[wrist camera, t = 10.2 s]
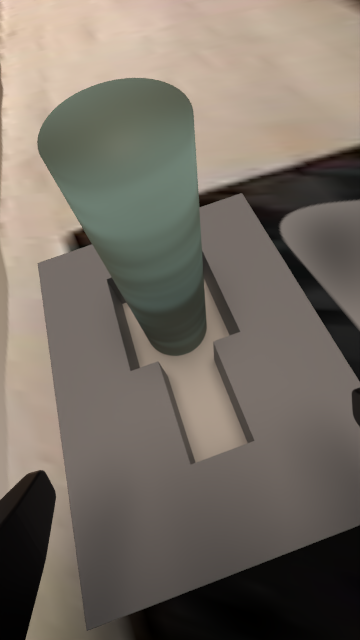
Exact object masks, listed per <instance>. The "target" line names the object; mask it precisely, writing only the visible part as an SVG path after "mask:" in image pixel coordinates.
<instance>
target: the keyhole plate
mask: <svg viewBox="0 0 360 640" xmlns="http://www.w3.org/2000/svg"><path fill="white" fill-rule="evenodd" d="M199 211H200V227H201V243H202V259H203V274H204V290H205V306H206V322H207V329H206V334H205V337H204V339H203V341H202V342H201V344H200V345H199V346H198V347H197V348H196V349H194V350H193V351H191V352H189V353H187V354H184V355H180V356H170V355H166V354H163V353H161V352H159V351H158V350H156V349H155V348H154V347H153V346H152V345H151V343H150V342H149V340H148V338H147V337H146V335H145V333H144V331H143V330H142V328H141V326H140V325H139V323H138V321H137V320H136V318H135V316H134V314H133V313H132V311H131V309H130V308H129V306H128V304H127V303H126V301H125V299H124V297H123V296H122V294H121V292H120V291H119V289H118V287H117V285H116V284H115V282H114V280H113V279H112V277H111V275H110V274H109V272H108V270H107V268H106V267H105V265H104V263H103V262H102V260H101V258H100V257H99V255H98V253H97V251H96V250H95V248H94V246H93V245H89V246H86V247H83V248H81V249H78V250H75V251H72V252H69V253H66V254H63V255H60V256H57V257H54V258H51V259H48V260H46V261H43V262H40V263H38V269H39V277H40V284H41V292H42V299H43V307H44V314H45V322H46V329H47V337H48V344H49V352H50V359H51V367H52V374H53V382H54V389H55V397H56V404H57V412H58V419H59V427H60V434H61V442H62V449H63V457H64V464H65V472H66V479H67V487H68V494H69V502H70V509H71V517H72V524H73V532H74V539H75V547H76V554H77V562H78V569H79V577H80V584H81V592H82V599H83V607H84V614H85V622H86V629H87V631H88V630H90V629H93V628H96V627H98V626H101V625H103V624H106V623H108V622H111V621H114V620H116V619H119V618H121V617H124V616H127V615H129V614H132V613H134V612H137V611H139V610H142V609H145V608H147V607H150V606H152V605H155V604H157V603H160V602H163V601H165V600H168V599H170V598H173V597H176V596H178V595H181V594H183V593H186V592H188V591H191V590H194V589H196V588H199V587H201V586H204V585H206V584H209V583H212V582H214V581H217V580H219V579H222V578H225V577H227V576H230V575H232V574H235V573H237V572H240V571H243V570H245V569H248V568H250V567H253V566H256V565H258V564H261V563H263V562H266V561H268V560H271V559H274V558H276V557H279V556H281V555H284V554H286V553H289V552H292V551H294V550H297V549H299V548H302V547H305V546H307V545H310V544H312V543H315V542H317V541H320V540H323V539H325V538H328V537H330V536H333V535H335V534H338V533H341V532H343V531H346V530H348V529H351V528H354V527H356V526H359V525H360V427H359V425H358V424H357V423H356V421H355V419H354V417H353V412H352V391H353V390H354V389H356V388H360V382H359V380H358V379H357V377H356V375H355V374H354V372H353V371H352V369H351V367H350V366H349V364H348V363H347V361H346V359H345V358H344V356H343V355H342V353H341V351H340V350H339V348H338V347H337V345H336V343H335V342H334V340H333V339H332V337H331V335H330V334H329V332H328V331H327V329H326V327H325V326H324V324H323V323H322V321H321V319H320V318H319V316H318V315H317V313H316V311H315V310H314V308H313V307H312V305H311V303H310V302H309V300H308V299H307V297H306V295H305V294H304V292H303V290H302V289H301V287H300V286H299V284H298V282H297V281H296V279H295V278H294V276H293V274H292V273H291V271H290V270H289V268H288V266H287V265H286V263H285V262H284V260H283V258H282V257H281V255H280V254H279V252H278V250H277V249H276V247H275V246H274V244H273V242H272V241H271V239H270V238H269V236H268V234H267V233H266V231H265V230H264V228H263V226H262V225H261V223H260V222H259V220H258V218H257V217H256V215H255V214H254V212H253V210H252V209H251V207H250V205H249V204H248V202H247V201H246V199H245V197H244V196H243V194H242V193H241V194H238V195H235V196H232V197H229V198H226V199H223V200H220V201H218V202H215V203H212V204H209V205H206V206H203V207H200V208H199Z"/></svg>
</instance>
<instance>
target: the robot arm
mask: <svg viewBox="0 0 360 640" xmlns="http://www.w3.org/2000/svg"><path fill="white" fill-rule="evenodd" d="M352 412H353V417H354V419H355V421H356V423H357V424H358V425H359V427H360V388H356V389H354V390H353V391H352ZM55 501H56V493H55V490H54V488H53V486H52V484H51V482H50V480H49V478H48V476H47V474H46V473H45V472H44V471H43V470H39V471H35V472H31V473H28V474H27V475H26V476H25V477H24V478H22V479H21V480H20V481H19V482H18V483H17V484H16V485H15V486H14V487H13V488H12V489H11V490H10V491H9V492H8V493H7V494H6V495H5V496H4V497H3V498H2V499H1V500H0V640H25V639H26V635H27V631H28V627H29V623H30V619H31V615H32V612H33V608H34V604H35V600H36V596H37V592H38V588H39V584H40V580H41V576H42V573H43V568H44V564H45V560H46V555H47V549H48V543H49V537H50V531H51V525H52V519H53V513H54V507H55Z"/></svg>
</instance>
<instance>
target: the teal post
mask: <svg viewBox="0 0 360 640" xmlns="http://www.w3.org/2000/svg"><path fill="white" fill-rule="evenodd" d="M37 143H38V150H39V154H40V156H41V158H42V159H43V161H44V163H45V164H46V166H47V168H48V170H49V171H50V173H51V175H52V176H53V178H54V180H55V182H56V183H57V185H58V187H59V188H60V190H61V192H62V193H63V195H64V197H65V199H66V200H67V202H68V204H69V205H70V207H71V209H72V211H73V212H74V214H75V216H76V217H77V219H78V221H79V222H80V224H81V226H82V228H83V229H84V231H85V233H86V234H87V236H88V238H89V239H90V241H91V243H92V245H93V246H94V248H95V250H96V251H97V253H98V255H99V257H100V258H101V260H102V262H103V263H104V265H105V267H106V268H107V270H108V272H109V274H110V275H111V277H112V279H113V280H114V282H115V284H116V285H117V287H118V289H119V291H120V292H121V294H122V296H123V297H124V299H125V301H126V303H127V304H128V306H129V308H130V309H131V311H132V313H133V314H134V316H135V318H136V320H137V321H138V323H139V325H140V326H141V328H142V330H143V331H144V333H145V335H146V337H147V338H148V340H149V342H150V343H151V345H152V346H153V347H154V348H155V349H156V350H158V351H159V352H161V353H163V354H166V355H170V356H180V355H184V354H187V353H189V352H191V351H193V350H194V349H196V348H197V347H198V346H199V345H200V344H201V342H202V341H203V339H204V337H205V334H206V329H207V322H206V306H205V290H204V274H203V259H202V243H201V227H200V211H199V195H198V179H197V163H196V147H195V131H194V115H193V108H192V105H191V103H190V101H189V99H188V98H187V97H186V95H185V94H184V93H183V92H182V91H180V90H179V89H177V88H176V87H174V86H172V85H170V84H168V83H165V82H162V81H158V80H153V79H146V78H125V79H118V80H112V81H107V82H104V83H100V84H97V85H94V86H91V87H89V88H87V89H84V90H82V91H80V92H78V93H76V94H74V95H73V96H71V97H69V98H68V99H66V100H65V101H64V102H62V103H61V104H60V105H58V106H57V107H56V108H55V109H54V110H53V111H52V112H51V113H50V115H49V116H48V117H47V118H46V120H45V121H44V123H43V125H42V127H41V129H40V132H39V135H38V141H37Z"/></svg>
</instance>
